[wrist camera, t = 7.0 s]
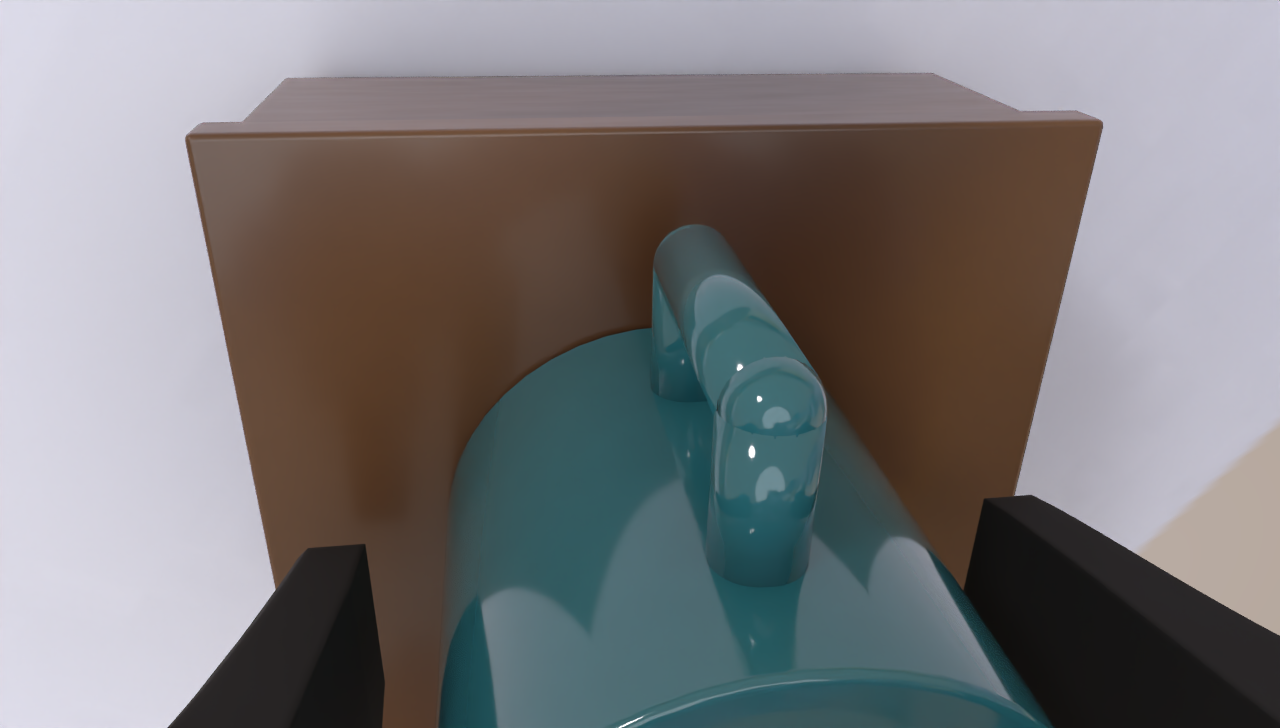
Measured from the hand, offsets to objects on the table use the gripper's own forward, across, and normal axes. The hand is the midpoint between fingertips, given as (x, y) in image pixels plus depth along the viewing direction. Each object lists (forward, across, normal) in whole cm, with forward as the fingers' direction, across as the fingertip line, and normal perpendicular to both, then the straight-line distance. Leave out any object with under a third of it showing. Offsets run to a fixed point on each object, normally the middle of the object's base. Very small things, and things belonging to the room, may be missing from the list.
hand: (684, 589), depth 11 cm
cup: (+2, 0, 0) cm, 2 cm away
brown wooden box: (+7, 0, 0) cm, 7 cm away
